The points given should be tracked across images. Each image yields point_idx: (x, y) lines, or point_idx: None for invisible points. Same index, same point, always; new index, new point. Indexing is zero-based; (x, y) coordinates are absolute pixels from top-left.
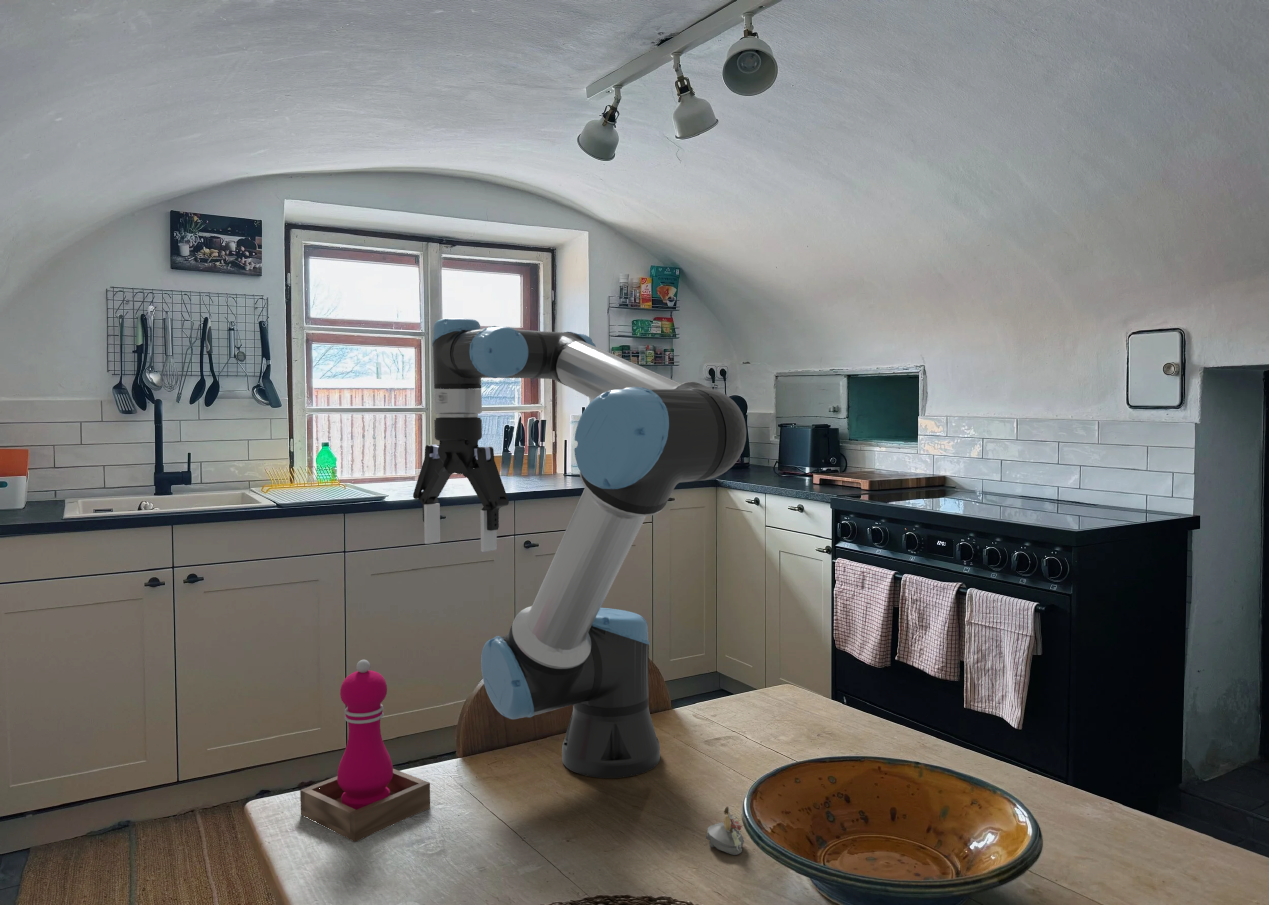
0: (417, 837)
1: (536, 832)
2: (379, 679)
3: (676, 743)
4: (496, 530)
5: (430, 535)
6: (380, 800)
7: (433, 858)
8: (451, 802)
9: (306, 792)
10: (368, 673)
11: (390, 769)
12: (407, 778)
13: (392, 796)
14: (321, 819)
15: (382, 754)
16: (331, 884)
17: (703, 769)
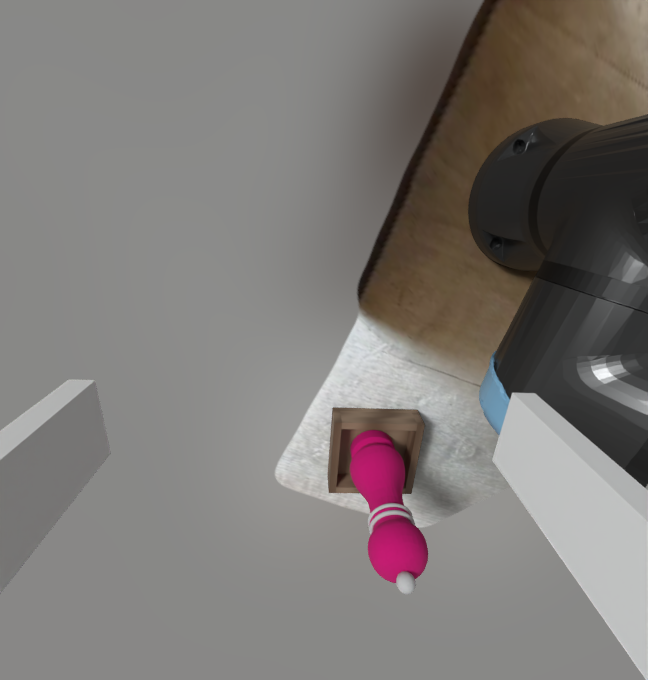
0: (445, 447)
1: None
2: (425, 559)
3: (607, 81)
4: (613, 462)
5: (82, 466)
6: (410, 469)
7: (479, 459)
8: (427, 391)
9: (338, 492)
10: (414, 573)
11: (402, 462)
12: (397, 429)
13: (414, 459)
14: None
15: (402, 480)
16: (436, 512)
17: None
